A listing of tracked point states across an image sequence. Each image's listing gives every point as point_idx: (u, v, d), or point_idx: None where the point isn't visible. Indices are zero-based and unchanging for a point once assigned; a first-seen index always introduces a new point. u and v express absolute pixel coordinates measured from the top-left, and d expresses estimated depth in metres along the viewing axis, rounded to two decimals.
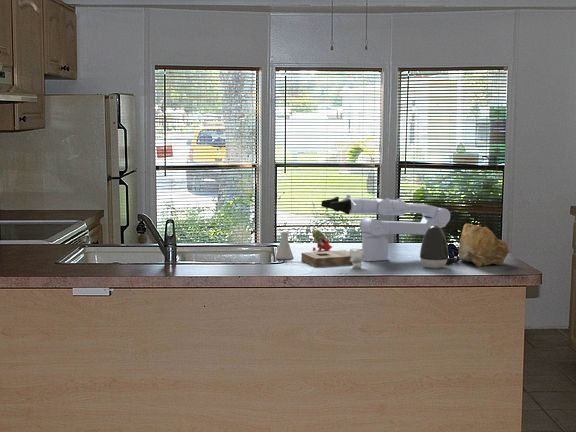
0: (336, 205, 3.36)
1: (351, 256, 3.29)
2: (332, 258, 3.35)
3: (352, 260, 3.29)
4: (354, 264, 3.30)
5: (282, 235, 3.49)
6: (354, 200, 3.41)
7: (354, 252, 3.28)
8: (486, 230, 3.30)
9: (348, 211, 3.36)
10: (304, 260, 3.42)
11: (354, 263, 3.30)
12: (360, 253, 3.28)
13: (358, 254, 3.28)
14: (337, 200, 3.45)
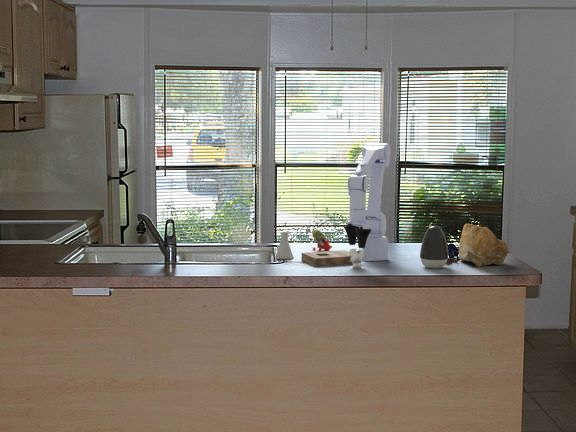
0: (361, 242, 3.26)
1: (351, 256, 3.29)
2: (332, 258, 3.35)
3: (352, 260, 3.29)
4: (354, 264, 3.30)
5: (282, 235, 3.49)
6: (354, 218, 3.26)
7: (354, 252, 3.28)
8: (486, 230, 3.30)
9: (368, 230, 3.24)
10: (304, 260, 3.42)
11: (354, 263, 3.30)
12: (360, 253, 3.28)
13: (358, 254, 3.28)
14: (349, 228, 3.32)
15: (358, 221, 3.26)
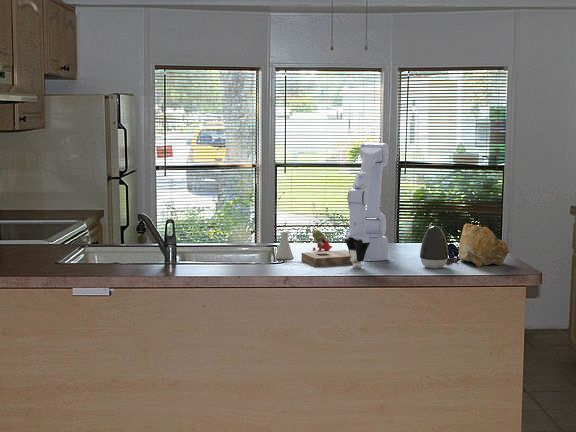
0: (360, 255, 3.27)
1: (351, 256, 3.29)
2: (332, 258, 3.35)
3: (352, 260, 3.29)
4: (354, 264, 3.30)
5: (282, 235, 3.49)
6: (354, 231, 3.27)
7: (354, 252, 3.28)
8: (486, 230, 3.30)
9: (367, 244, 3.26)
10: (304, 260, 3.42)
11: (354, 263, 3.30)
12: None
13: None
14: (350, 241, 3.32)
15: (358, 235, 3.27)
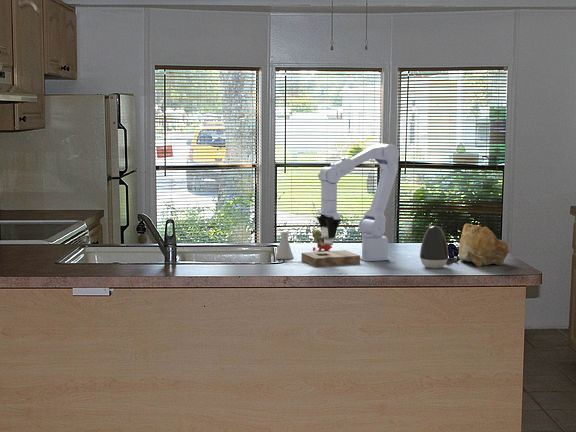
0: (331, 232, 3.35)
1: (323, 233, 3.37)
2: (332, 258, 3.35)
3: (324, 237, 3.37)
4: (326, 241, 3.37)
5: (282, 235, 3.49)
6: (325, 208, 3.35)
7: (325, 229, 3.36)
8: (486, 230, 3.30)
9: (338, 220, 3.34)
10: (304, 260, 3.42)
11: (326, 240, 3.37)
12: None
13: None
14: (321, 218, 3.40)
15: (329, 212, 3.34)
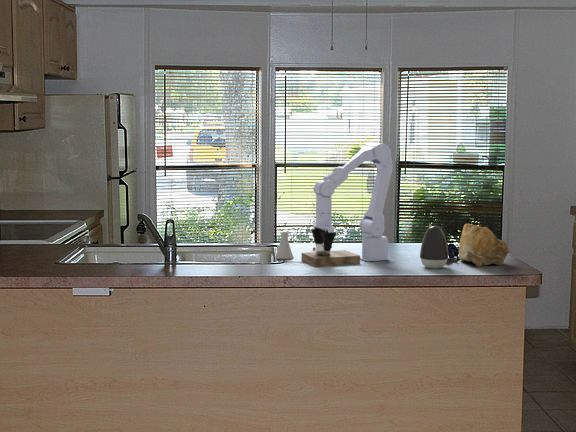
0: (327, 245, 3.36)
1: (317, 250, 3.39)
2: (332, 258, 3.35)
3: (318, 254, 3.39)
4: None
5: (282, 235, 3.49)
6: (320, 221, 3.37)
7: (320, 246, 3.38)
8: (486, 230, 3.30)
9: (334, 234, 3.35)
10: (304, 260, 3.42)
11: None
12: None
13: None
14: (315, 231, 3.43)
15: (324, 225, 3.37)
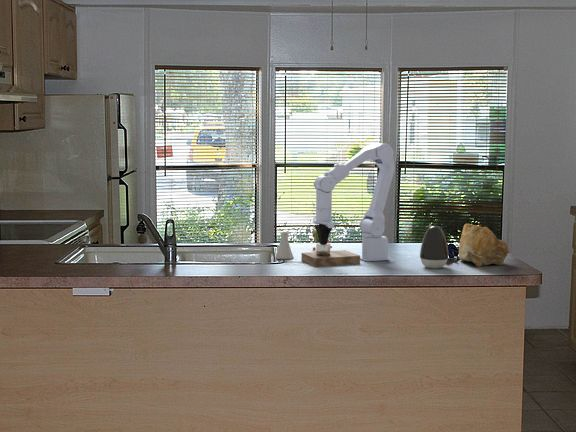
0: (323, 239, 3.39)
1: (317, 250, 3.39)
2: (332, 258, 3.35)
3: (318, 254, 3.39)
4: None
5: (282, 235, 3.49)
6: (320, 217, 3.37)
7: (320, 246, 3.38)
8: (486, 230, 3.30)
9: (330, 228, 3.38)
10: (304, 260, 3.42)
11: None
12: (326, 247, 3.38)
13: (324, 248, 3.38)
14: None
15: (324, 220, 3.37)
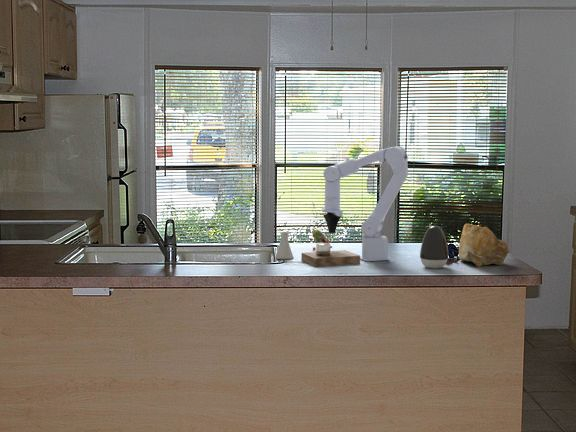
0: (332, 227, 3.51)
1: (317, 250, 3.39)
2: (332, 258, 3.35)
3: (318, 254, 3.39)
4: None
5: (282, 235, 3.49)
6: (329, 206, 3.49)
7: (320, 246, 3.38)
8: (486, 230, 3.30)
9: (338, 216, 3.50)
10: (304, 260, 3.42)
11: None
12: (326, 247, 3.38)
13: (324, 248, 3.38)
14: None
15: (333, 209, 3.48)
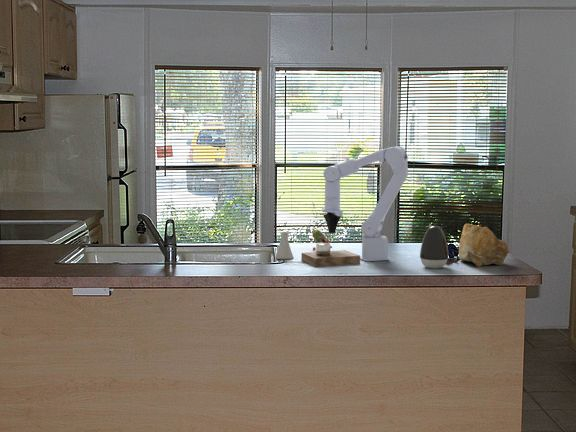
0: (332, 227, 3.51)
1: (317, 250, 3.39)
2: (332, 258, 3.35)
3: (318, 254, 3.39)
4: None
5: (282, 235, 3.49)
6: (329, 206, 3.49)
7: (320, 246, 3.38)
8: (486, 230, 3.30)
9: (338, 216, 3.50)
10: (304, 260, 3.42)
11: None
12: (326, 247, 3.38)
13: (324, 248, 3.38)
14: None
15: (333, 209, 3.48)
